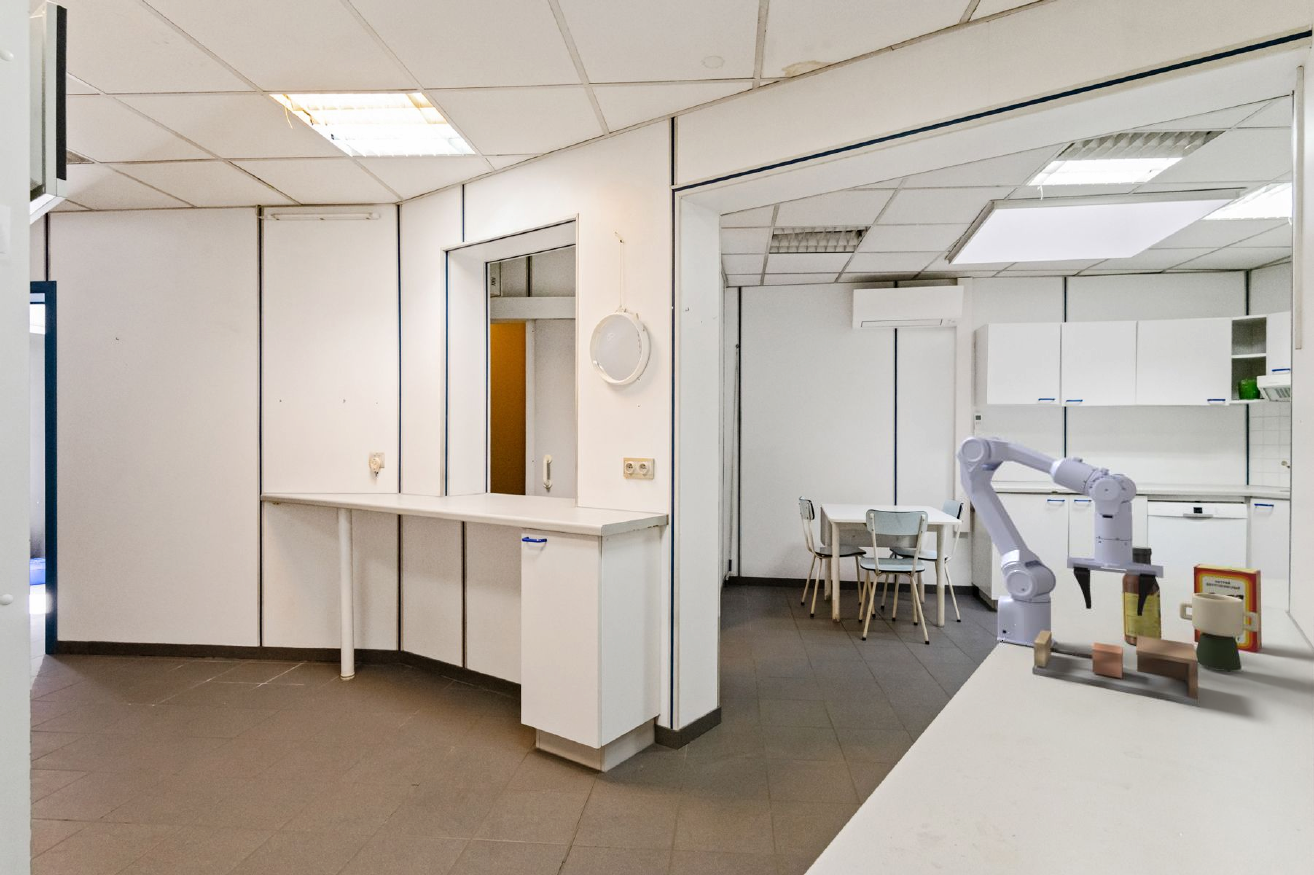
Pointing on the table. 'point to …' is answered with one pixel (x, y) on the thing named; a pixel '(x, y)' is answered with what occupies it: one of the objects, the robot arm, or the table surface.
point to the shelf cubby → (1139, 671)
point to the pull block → (1082, 655)
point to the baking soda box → (1234, 585)
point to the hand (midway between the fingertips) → (1113, 611)
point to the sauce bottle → (1151, 611)
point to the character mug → (1218, 628)
